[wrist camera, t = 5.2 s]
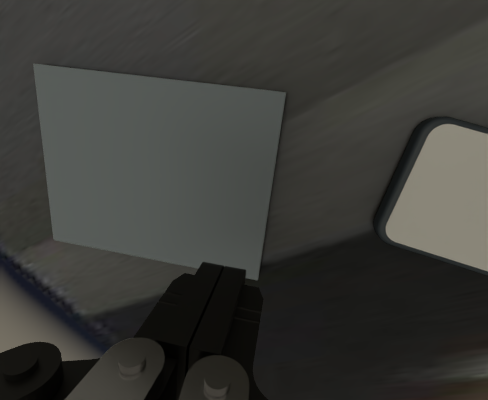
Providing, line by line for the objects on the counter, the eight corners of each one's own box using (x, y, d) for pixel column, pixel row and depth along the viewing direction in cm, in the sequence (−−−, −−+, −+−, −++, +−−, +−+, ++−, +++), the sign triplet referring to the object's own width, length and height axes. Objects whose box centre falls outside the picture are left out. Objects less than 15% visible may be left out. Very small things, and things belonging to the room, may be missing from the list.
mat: (286, 93, 19) (285, 92, 18) (259, 273, 24) (257, 280, 23) (44, 65, 21) (33, 63, 20) (62, 235, 26) (53, 239, 25)
